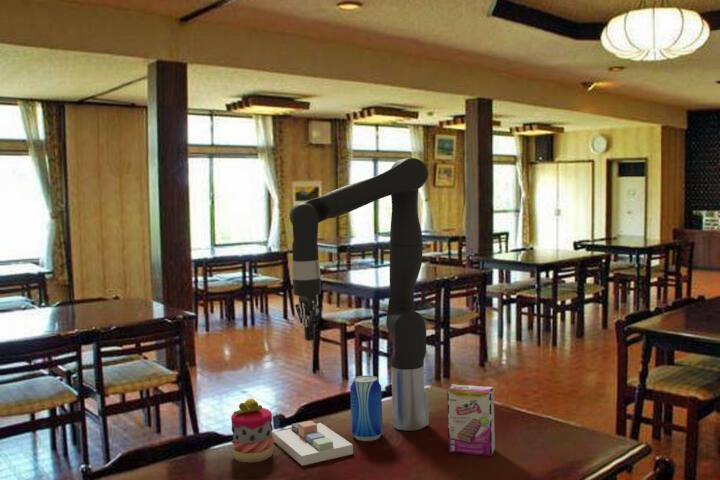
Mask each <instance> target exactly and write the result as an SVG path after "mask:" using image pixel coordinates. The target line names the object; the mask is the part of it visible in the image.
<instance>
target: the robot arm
mask: <svg viewBox="0 0 720 480" xmlns="http://www.w3.org/2000/svg"><path fill="white" fill-rule="evenodd" d="M428 177H429V171H428V168H427V165H426V163H425V162H424V161H422V160H421V159H419V158H416V157H405V158H402V159H399V160H396V161H395V162H394V163H393V165H392V166H391V168H390V169H387V171H384V172H382V173H379V174H378V175H375V176H372V177H369V178H367V179H364V180H360V181H357V182H354V183H351V184H348V185H345V186H342V187H341V186H340V187H339V188H337V189H334V190H332V191H328V192H327V193H325V194H323V195H321V196H318V197H315V198H311V199H309V200H306V201H302V202H300V203H298V204H295V205H294V206H293V207H292V208H291V209H290V212H289V221H290V222H291V224H292V225H291V226H292V233H293V234H292V235H293V241H292V245H291V249H292V255H291V256H292V268H291V269H292V270H291V272H292V290H293V295H294V296H297V297H298V303H295V306H294V307H295V310H296V312H297V313H296V314H297V316H298V319H299V321H300V322H299V323H300V324H302V326H303V327H304V339H305V341H308V342H310V341H314V340H315V327H316V326H317V325H318V324H319V322H320V318H321V314H322V312H323V311H322V308H321V307H318V299H317V295H320V294H321V293H322V285H321V284H322V283H321V282H322V281H321V279H322V278H321V265H320V260H319V258H320V257H319V245H318V238H319V237H318V236H319V235H318V234H319V223H321V222H323V221H326V220H330V219H333V218H335V219H336V218H337V217H341V216H343V215H345V214H348V213H351V212H353V211H355V210H358V209H359V208H362V207H364V206H366V205H369V204H371V203H373V202H376V201H377V200H378V201H379V200H380V199H384V198H386V197H389V196H390V197H391V198H390V199H391V218H390V231H389V232H390V233H389V234H390V235H389V295H388V305H387V311H386V321H385V322H386V329H387V331H388V333H389V335H391V337H393V339H394V353H393V354H392V355H391V357H390V369H391V370H390V372H391V373H390V374H391V376H390V377H391V394H392V395H391V398H392V399H391V400H392V401H391V402H392V403H391V404H392V426H393V428H395V429H397V430H399V431H406V432H407V431H408V432H409V431H419V430H422V429H424V428H425V427H426V426H429V424H430V421H429V420H430V419H429V418H430V417H429V395H428V391H426V389H425V358H426V355H427V325H426V322H425V319H424V317H423V316H422V314H421V313H420V312H417V311H416V310H415V298H414V297H415V288H416V283H417V282H418V281H417V280H418V277H419V275H420V271H421V268H422V265H423V250H424V249H423V245H424V243H423V232H422V227H421V224H420V218H419V214H418V195H419V193H418V192H419V189H421V188H422V187H423V186H424V185H425V184H426V182H427V180H428Z"/></svg>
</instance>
